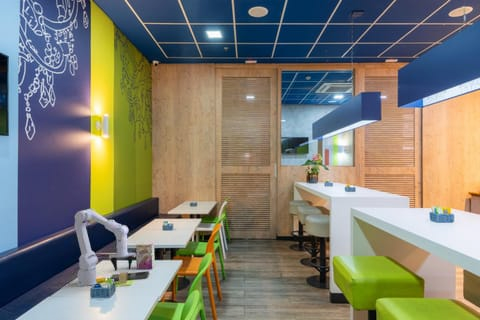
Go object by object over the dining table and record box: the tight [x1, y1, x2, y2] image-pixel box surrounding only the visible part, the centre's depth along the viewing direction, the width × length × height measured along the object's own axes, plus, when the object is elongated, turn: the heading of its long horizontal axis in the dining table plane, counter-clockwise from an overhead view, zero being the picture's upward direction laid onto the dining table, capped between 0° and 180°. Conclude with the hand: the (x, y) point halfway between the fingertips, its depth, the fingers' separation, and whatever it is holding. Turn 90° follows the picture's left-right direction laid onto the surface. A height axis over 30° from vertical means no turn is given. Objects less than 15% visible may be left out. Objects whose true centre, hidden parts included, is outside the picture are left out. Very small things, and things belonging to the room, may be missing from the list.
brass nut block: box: [118, 271, 129, 285], centre depth 177 cm, size 4×4×6 cm
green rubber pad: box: [115, 280, 134, 288], centre depth 177 cm, size 10×7×1 cm
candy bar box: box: [135, 242, 156, 270], centre depth 203 cm, size 11×5×16 cm, turn 84°
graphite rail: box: [109, 270, 150, 282], centre depth 186 cm, size 22×7×2 cm, turn 99°
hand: (122, 269), depth 177 cm, fingers open, 7 cm apart
